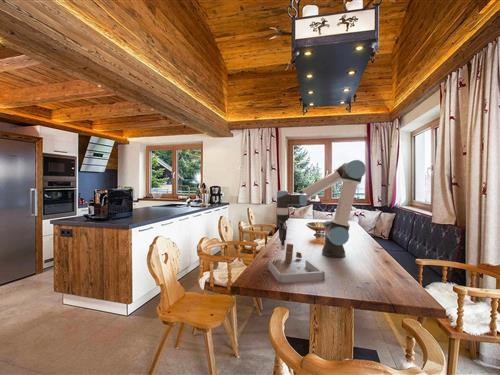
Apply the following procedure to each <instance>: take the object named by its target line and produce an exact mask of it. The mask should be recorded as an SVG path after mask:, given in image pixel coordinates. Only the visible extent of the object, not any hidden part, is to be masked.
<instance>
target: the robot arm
mask: <svg viewBox="0 0 500 375" xmlns="http://www.w3.org/2000/svg"><path fill="white" fill-rule="evenodd" d="M366 170H367V167H366V164H365V163H364V162H363V161H362V160H360V159H356V158H355V159H350V160H348V161H345V162H344V163H343V164H342V165H340V166H338V167H337V168H336V169H334V170H333V172H331V173H329V174H328V175H326V176H324V177H322V178H320V179H319V180H317V181H314V182H313V183H312V184H310V185H308V186H306V187H304V188H302V189H301V190H299V191H297V192H294V193H289V191H288V190H278V191H277V192H276V209H275V211H276V220H277V221H279V222H278V223H277V226H278V238H279V249H280V251H286V247H285V246H286V245H285V244H286V243H285V242H286V240H287V230H288V225H287V222H286V221H288V220H289V206H307V204H308V199H310V198H312V197H315V196H316V195H318V194H319V193H321V192H323V191H325V190H327V189H329V188H331V187H332V186H334V185H336V184H338V183H342V185H341V189H340V191H339V192H340V193H339V196H338V201H337V204H336V205H337V206H336V209H335V213H334V218H332V219H331V220H326V221H325V222H324V244H323V246H322V247H323V248H322V249H321V254H322V255H323V256H325V257H329V258H343V257H345V256H346V251H345V248H344V245H346V243H347V242H348V241H349V238H350V235H349V234H350V233H349V231H350V226H351V225H350V224H349V220H350V216H351V211H352V208H353V204H354V201H355V197H356V196H355V195H356V192H357V188H358V185H360V184H361V182H362V179H363V176H365V173H366Z"/></svg>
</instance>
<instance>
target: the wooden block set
mask: <svg viewBox="0 0 500 375" xmlns="http://www.w3.org/2000/svg"><path fill="white" fill-rule="evenodd" d="M285 246H286V247H285V259H284V261H285V262H284V263H285V264H289V265H290V264H291V263H292V261H293V254H294V253H293V252H294V244H292V243H286V245H285ZM295 257H296V258H297V259H302V258H303V256H302V252H299V251H296V254H295Z"/></svg>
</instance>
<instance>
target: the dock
mask: <svg viewBox="0 0 500 375" xmlns="http://www.w3.org/2000/svg"><path fill="white" fill-rule="evenodd" d="M305 268H307V270H309V272H307V271H304V272H290V273H281V271H280V270H278V268H277V266H276V265H274V264H273V262H272V261H268V270H269V271H270V273H271V274H272V276H273V277H274V279H275V280H276V281H277V283H278V284H286V283H287V284H288V283H301V282H316V281H325V280H326V279H325V278H326V272H325V271H324V270H323V269H321V268H320V267H318V266H317V265H316V264H315V263H313V262H312V261H311V260H309V259H305Z"/></svg>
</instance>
